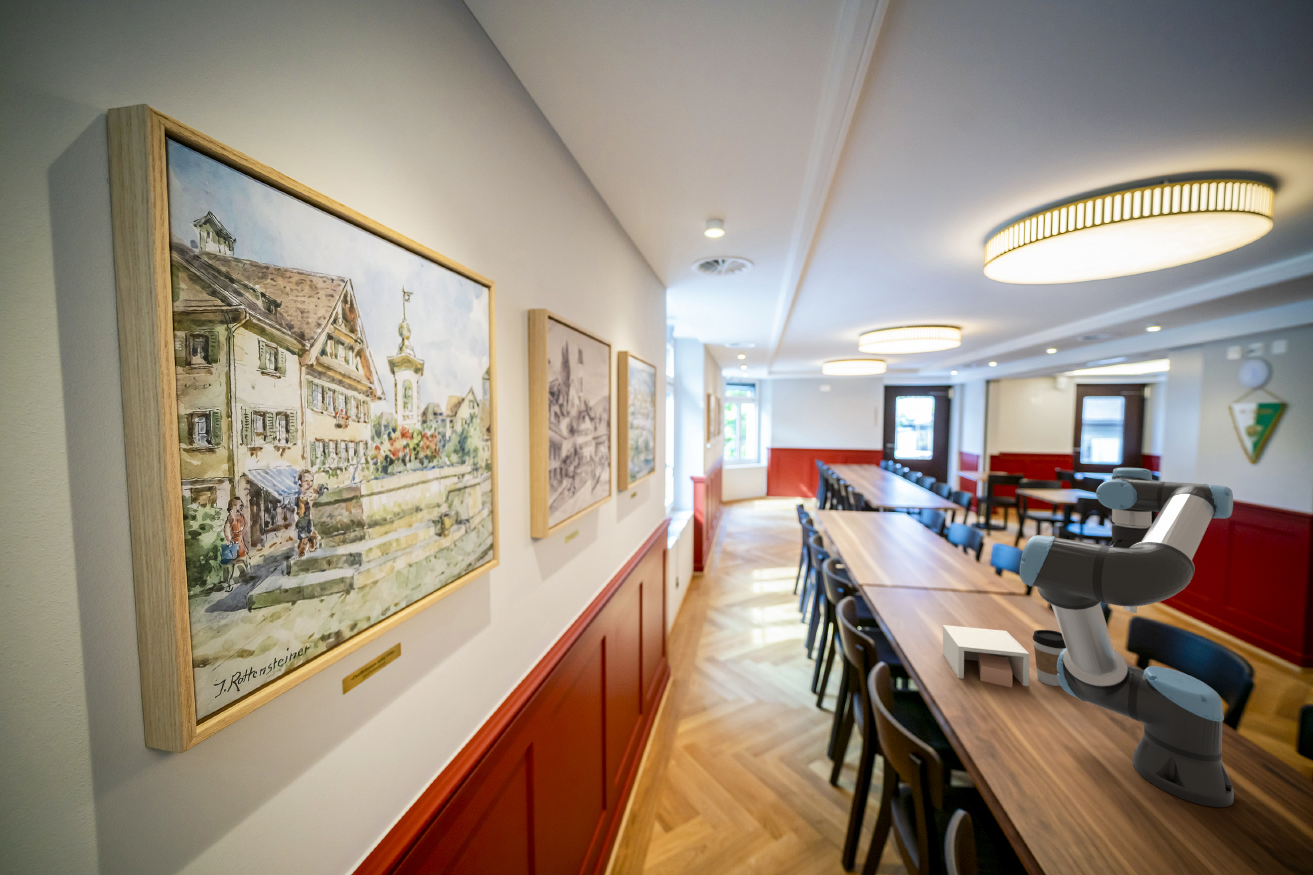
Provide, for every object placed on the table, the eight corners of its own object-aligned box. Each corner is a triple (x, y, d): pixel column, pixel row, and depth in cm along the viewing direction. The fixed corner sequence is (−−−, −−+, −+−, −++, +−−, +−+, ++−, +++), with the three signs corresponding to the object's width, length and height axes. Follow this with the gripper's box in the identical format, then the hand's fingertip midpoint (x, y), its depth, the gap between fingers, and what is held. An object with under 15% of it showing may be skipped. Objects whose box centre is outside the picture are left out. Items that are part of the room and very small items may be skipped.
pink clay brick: (1012, 688, 143) (1012, 672, 142) (980, 681, 147) (980, 665, 147) (1007, 672, 151) (1007, 657, 151) (977, 666, 155) (978, 651, 155)
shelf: (1028, 686, 143) (1029, 653, 143) (958, 677, 148) (958, 646, 148) (1005, 660, 158) (1006, 630, 158) (942, 653, 164) (942, 624, 163)
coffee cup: (1074, 689, 141) (1074, 640, 140) (1042, 687, 143) (1042, 638, 142) (1056, 674, 149) (1057, 628, 149) (1026, 672, 151) (1026, 626, 150)
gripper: (1150, 522, 128) (1148, 607, 129) (1093, 521, 132) (1092, 603, 133) (1172, 529, 121) (1170, 618, 122) (1111, 527, 124) (1110, 614, 125)
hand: (1129, 610), depth 127 cm, fingers closed
